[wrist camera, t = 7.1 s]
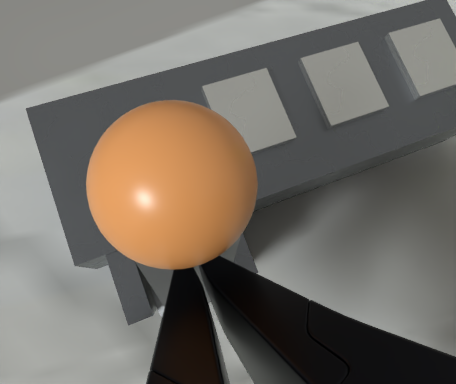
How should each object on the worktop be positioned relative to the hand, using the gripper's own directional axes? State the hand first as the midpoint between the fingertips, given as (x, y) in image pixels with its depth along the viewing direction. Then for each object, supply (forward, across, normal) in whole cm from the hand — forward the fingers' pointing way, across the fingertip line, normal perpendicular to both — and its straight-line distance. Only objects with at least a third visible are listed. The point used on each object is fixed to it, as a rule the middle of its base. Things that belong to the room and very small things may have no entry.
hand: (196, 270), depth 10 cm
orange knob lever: (+5, 0, -6) cm, 8 cm away
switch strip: (+10, +7, -5) cm, 13 cm away
